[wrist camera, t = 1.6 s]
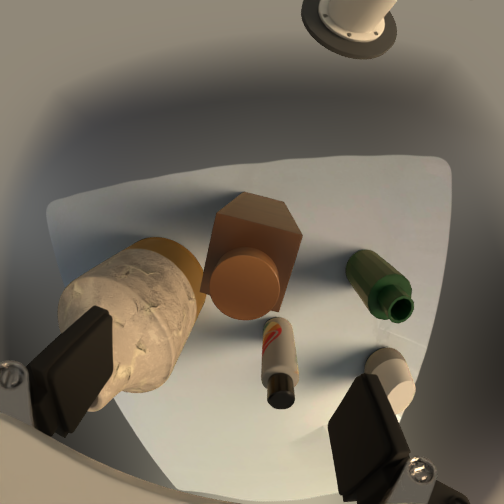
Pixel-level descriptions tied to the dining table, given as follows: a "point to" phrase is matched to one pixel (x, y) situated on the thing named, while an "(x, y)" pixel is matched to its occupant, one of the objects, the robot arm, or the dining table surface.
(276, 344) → the lotion bottle
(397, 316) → the green bottle
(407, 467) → the robot arm
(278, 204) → the brown block
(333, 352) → the dining table surface
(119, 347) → the vase
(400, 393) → the smart speaker
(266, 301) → the cork stopper
